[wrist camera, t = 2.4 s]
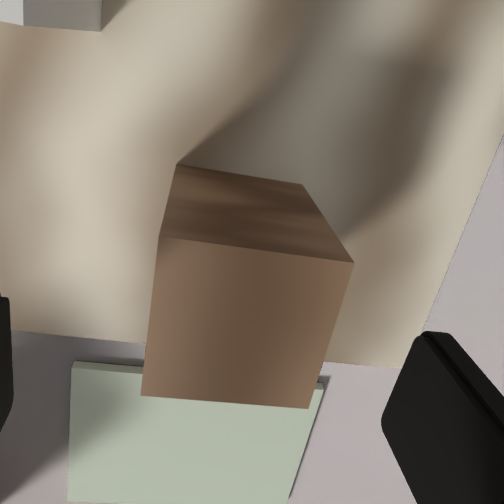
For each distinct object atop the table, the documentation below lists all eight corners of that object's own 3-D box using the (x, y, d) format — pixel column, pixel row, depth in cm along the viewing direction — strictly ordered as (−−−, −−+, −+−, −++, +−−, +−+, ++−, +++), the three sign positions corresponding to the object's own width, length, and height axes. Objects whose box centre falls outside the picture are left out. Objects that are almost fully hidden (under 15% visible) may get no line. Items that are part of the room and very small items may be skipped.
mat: (321, 383, 23) (323, 389, 22) (282, 502, 26) (284, 510, 26) (74, 360, 21) (71, 367, 20) (69, 492, 24) (67, 501, 24)
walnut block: (302, 184, 18) (354, 263, 12) (276, 292, 20) (308, 409, 14) (176, 163, 17) (158, 236, 11) (162, 278, 19) (139, 395, 13)
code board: (604, -118, 15) (609, -120, 14) (404, 366, 23) (406, 369, 22) (-154, -357, 11) (-161, -364, 11) (-72, 319, 19) (-74, 322, 19)
